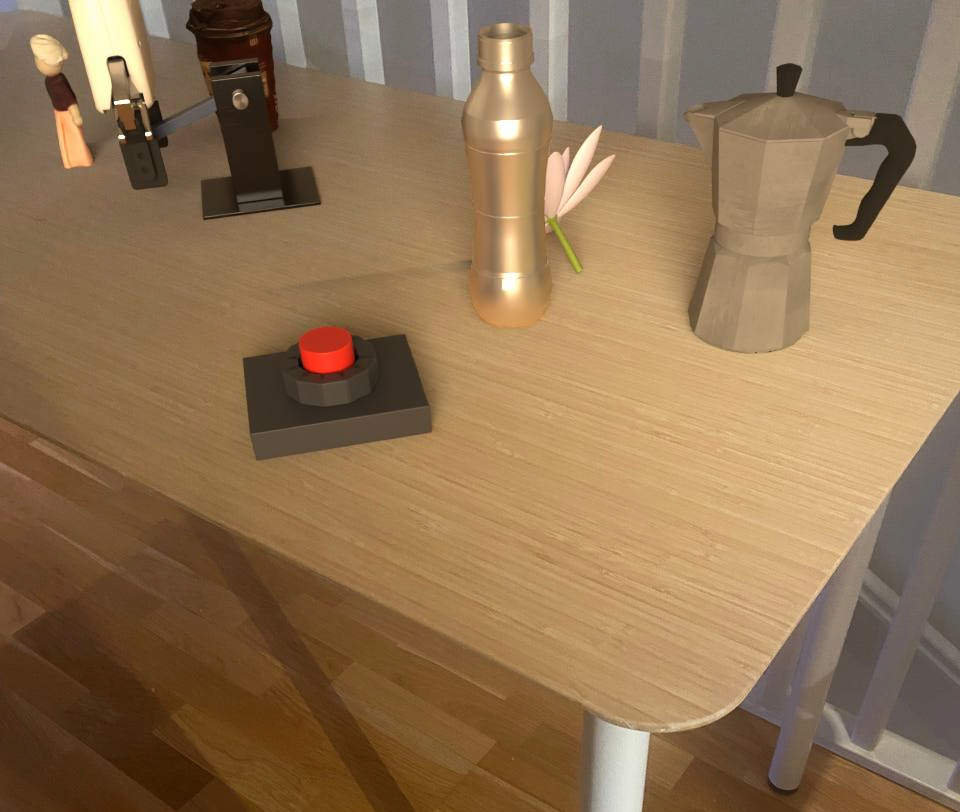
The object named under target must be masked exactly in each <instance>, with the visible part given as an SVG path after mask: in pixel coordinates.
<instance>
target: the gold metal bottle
mask: <svg viewBox="0 0 960 812" xmlns="http://www.w3.org/2000/svg"><path fill="white" fill-rule="evenodd" d="M533 34H534V33H533V28H532V27H531V26H529V25H527V24H523V23H518V22H499V23H491V24H488V25H485V26H482V27H481V28H479V29H478V30H477V36H476V37H477V39H476V40H477V54H476V65H477V66H478V67H480V68H481V71H480V74H479V76H478V78H477V80H476V81H475V82H474V85H473V86H472V88H471V90H470V92H469V94H468V96H467V98H466V101H465V103H464V106H463V109H462V114H461V119H460V124H461V134H462V138H463V144H464V149H465V154H466V160H467V166H468V171H469V172H468V173H469V178H470V179H469V180H470V189H471V198H472V211H473V232H472V233H473V234H472V235H473V237H472V238H473V239H472V259H471V263H470V269H469V280H468V289H469V295H470V300H471V303H472V308H473V309H474V311H475V312H476V314H477V315H478V316H479V317H480V319H482V321H483V322H485V323H487V324H489V325H492V326H495V327H500V328H519V327H524V326H525V327H526V326H528V325H530V324H531V325H532V324H533V323H535V322H537V321H538V320H540V319H541V317H543V315H544V313H545V312H546V311H547V309H548V307H549V305H550V302H551V301H550V300H551V295H552V290H553V280H552V279H553V278H552V272H551V266H550V261H549V257H548V248H547V234H546V232H545V218H544V209H545V200H544V197H545V190H546V172H547V165H548V158H549V157H550V149H551V142H552V134H553V127H554V126H553V125H554V115H553V112H552V107H551V104H550V100H549V98H548V97H547V95H546V93H545V91H544V90H543V88H542V85H541V84H540V83H539V81H538V80H537V78H536V77H535V76H534V73H533V72H532V70H531V66H532V65H533V64H534V63H535V52H534V50H533V47H534V45H533V39H534V38H533Z"/></svg>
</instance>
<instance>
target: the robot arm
mask: <svg viewBox="0 0 960 812" xmlns="http://www.w3.org/2000/svg"><path fill="white" fill-rule="evenodd" d="M67 1H68V4H69V5H68V6H69V10H70V13H71V14H70V15H71V19H72V23H73V27H74V31H75V35H76V38H77V43H78V45H79V49H80V53H81V56H82V61H83V64H84V68H85V71H86V76H87V78H88V83H89V86H90V90H91V94H92V98H93V101H94V105H95V109H96V111H98V112H99V113H100V114H102V115H106V114H107V113H108V110H111V107H112V112H113V117H114V121H115V126H116V130H117V135H118V139H119V141H118V145H119V149H120V151H121V155H122V158H123V162H124V165H125V169H126V172H127V176H128V179H129V182H130V186H131V189H133V190H135V191H141V190H147V189H149V190H150V189H155V188H156V189H157V188H163V187H164V188H165V187H167V186H168V185H169V177H168V173H167V170H166V167H165V163H164V159H163V156H162V151H161V149H166V148H167V147H168V146H169V138H168V135H167V136H165V137H163V138H161V139H159V140H158V139H157V137H153V133H152V128H151V126H152V125H154V124H156V123H158V122H160V121H162V120H164V119H163V114H162V111H161V107H160V103H159V100H156V96H155V95H156V76H155V70H154V63H153V59H152V58H153V57H152V52H151V47H150V43H149V37H148V33H147V28H146V24H145V19H144V15H143V12H142V7H141V3H140V0H67Z"/></svg>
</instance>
